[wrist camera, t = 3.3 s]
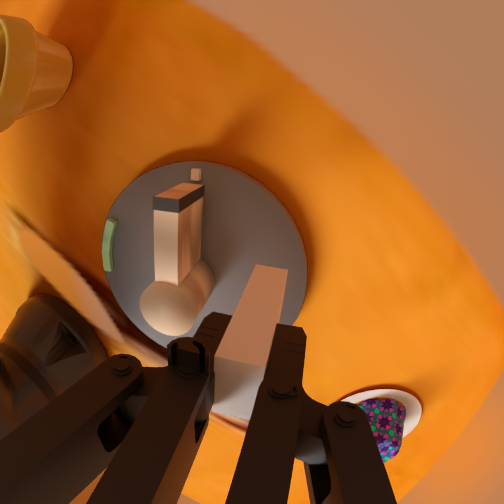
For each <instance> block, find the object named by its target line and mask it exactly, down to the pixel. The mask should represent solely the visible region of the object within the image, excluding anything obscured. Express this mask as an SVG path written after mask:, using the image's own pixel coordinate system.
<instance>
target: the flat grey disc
mask: <svg viewBox="0 0 504 504" xmlns="http://www.w3.org/2000/svg"><path fill="white" fill-rule="evenodd" d="M180 183H192V184H201V185H205V190H204V196H203V209H202V229H201V253H200V259H202V260H203V261H205V262H206V263H207V264H208V265H209V266H210V268H211V269H212V271H213V273H214V276H215V287H214V290H213V292H212V294H211V295H210V297H209V299H208V300H207V302H206V304H205V305H204V307H203V309H202V310H201V312H200V314H199V316H198V317H197V319H196V321H195V322H194V324H193V326H192V327H191V329H190V330H189V331H188V332H187V333H185V334H183V335H179V336H170V335H166V334H163V333H161V332H159V331H157V330H155V329H154V328H153V327H152V326H150V325H149V324H148V322H147V321H146V320H145V318H144V317H143V315H142V312H141V309H140V297H141V295H142V293H143V291H144V290H145V289H146V288H147V287H148V286H149V285H150V284H151V283H152V282H153V281H154V280H155V263H154V210H153V196H155V195H157V194H159V193H161V192H163V191H165V190H167V189H169V188H172V187H174V186H176V185H178V184H180ZM102 259H103V268H104V270H105V274H106V278H107V281H108V283H109V286H110V288H111V291H112V293H113V295H114V297H115V299H116V300H117V302H118V304H119V305H120V307H121V308H122V310H123V311H124V313H125V314H126V315H127V316H128V317H129V319H130V320H131V321H132V322H133V323H134V324H135V325H136V326H137V327H138V328H139V329H140V330H141V331H142V332H143V333H145V334H146V335H147V336H148V337H150V338H151V339H152V340H154V341H155V342H157V343H158V344H160V345H162V346H164V347H166V348H167V344H169V343H170V342H171V341H172V340H174V339H177V338H180V337H193V336H194V334H196V331H197V329H198V327H199V326H200V324H201V322H202V321H203V319H204V317H206V316H207V315H209V314H210V313H212V312H218V313H223V314H228V315H233V314H234V312H235V310H236V307H237V305H238V303H239V301H240V299H241V296H242V294H243V292H244V290H245V288H246V285H247V283H248V281H249V279H250V277H251V274H252V272H253V270H254V268H255V265H256V264H258V265H264V266H270V267H276V268H281V269H287V270H288V273H287V279H286V285H285V291H284V297H283V303H282V309H281V314H280V320H279V324H285V325H290V326H292V325H293V323H294V322H295V320H296V319H297V317H298V314H299V312H300V310H301V308H302V304H303V301H304V298H305V292H306V284H307V258H306V252H305V246H304V243H303V240H302V237H301V234H300V231H299V229H298V227H297V225H296V223H295V221H294V219H293V217H292V216H291V214H290V213H289V211H288V210H287V208H286V207H285V205H284V204H283V203H282V202H281V201H280V200H279V199H278V198H277V196H276V195H275V194H274V193H273V192H272V191H270V190H269V189H268V188H267V187H266V186H265V185H263V184H262V183H261V182H259V181H258V180H256V179H255V178H253V177H252V176H250V175H248V174H246V173H244V172H242V171H240V170H238V169H236V168H233V167H230V166H227V165H224V164H221V163H216V162H210V161H194V160H190V161H182V162H175V163H172V164H168V165H165V166H162V167H158V168H155V169H153V170H151V171H149V172H147V173H145V174H143V175H141V176H140V177H138V178H137V179H135V180H134V181H132V182H131V183H130V184H129V185H128V186H127V187H126V188H125V189H124V190H123V191H122V192H121V194H120V195H119V196H118V197H117V199H116V200H115V202H114V204H113V205H112V207H111V209H110V211H109V214H108V216H107V219H106V222H105V226H104V230H103V237H102Z"/></svg>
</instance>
